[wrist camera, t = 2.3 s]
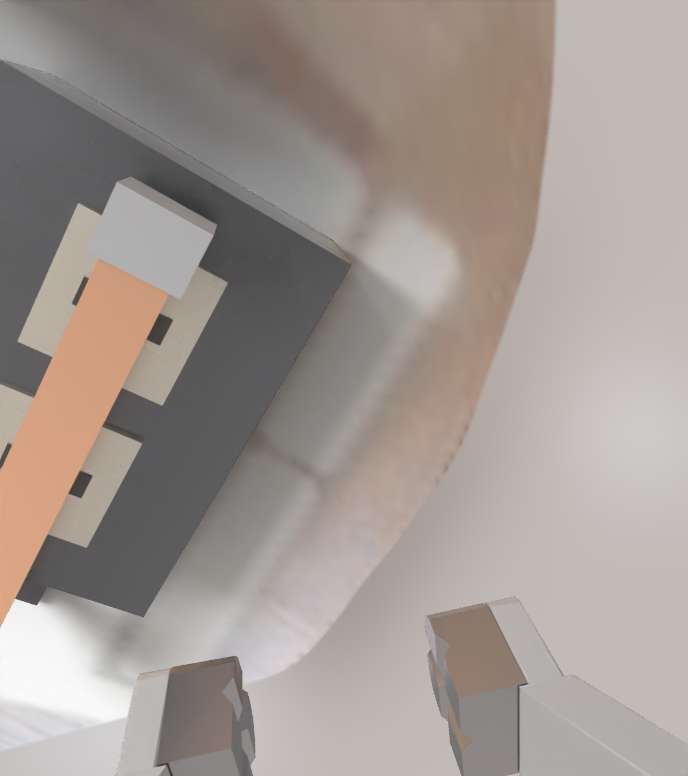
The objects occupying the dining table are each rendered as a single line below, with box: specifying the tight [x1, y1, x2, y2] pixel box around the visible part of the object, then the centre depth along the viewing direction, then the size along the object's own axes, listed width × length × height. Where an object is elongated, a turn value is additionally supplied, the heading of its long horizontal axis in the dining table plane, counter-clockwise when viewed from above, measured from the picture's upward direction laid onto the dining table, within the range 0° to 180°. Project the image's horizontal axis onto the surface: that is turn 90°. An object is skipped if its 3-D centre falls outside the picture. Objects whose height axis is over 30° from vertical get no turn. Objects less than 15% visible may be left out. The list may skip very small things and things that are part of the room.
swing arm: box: [0, 177, 217, 627], centre depth 23 cm, size 25×4×2 cm, turn 149°
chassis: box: [0, 59, 351, 617], centre depth 28 cm, size 14×20×6 cm
